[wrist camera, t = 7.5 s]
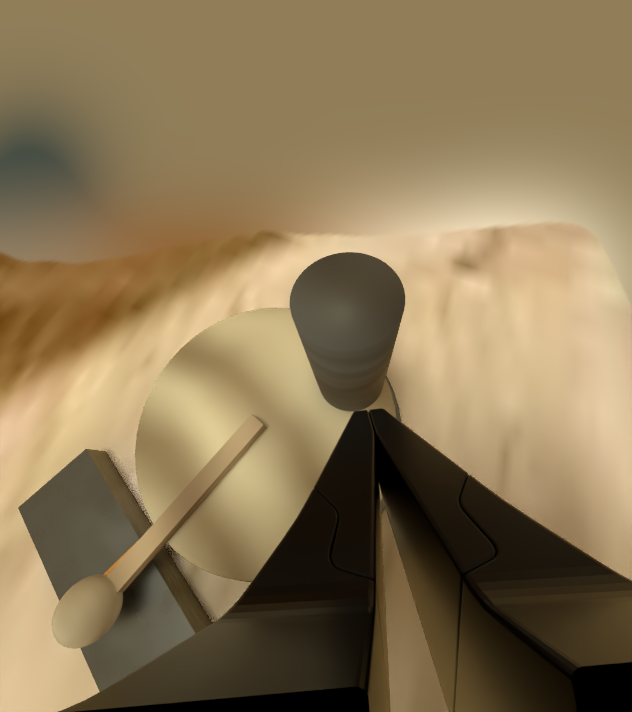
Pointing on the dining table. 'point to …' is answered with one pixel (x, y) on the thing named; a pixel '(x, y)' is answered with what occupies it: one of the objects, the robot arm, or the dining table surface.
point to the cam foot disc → (249, 429)
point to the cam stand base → (113, 563)
